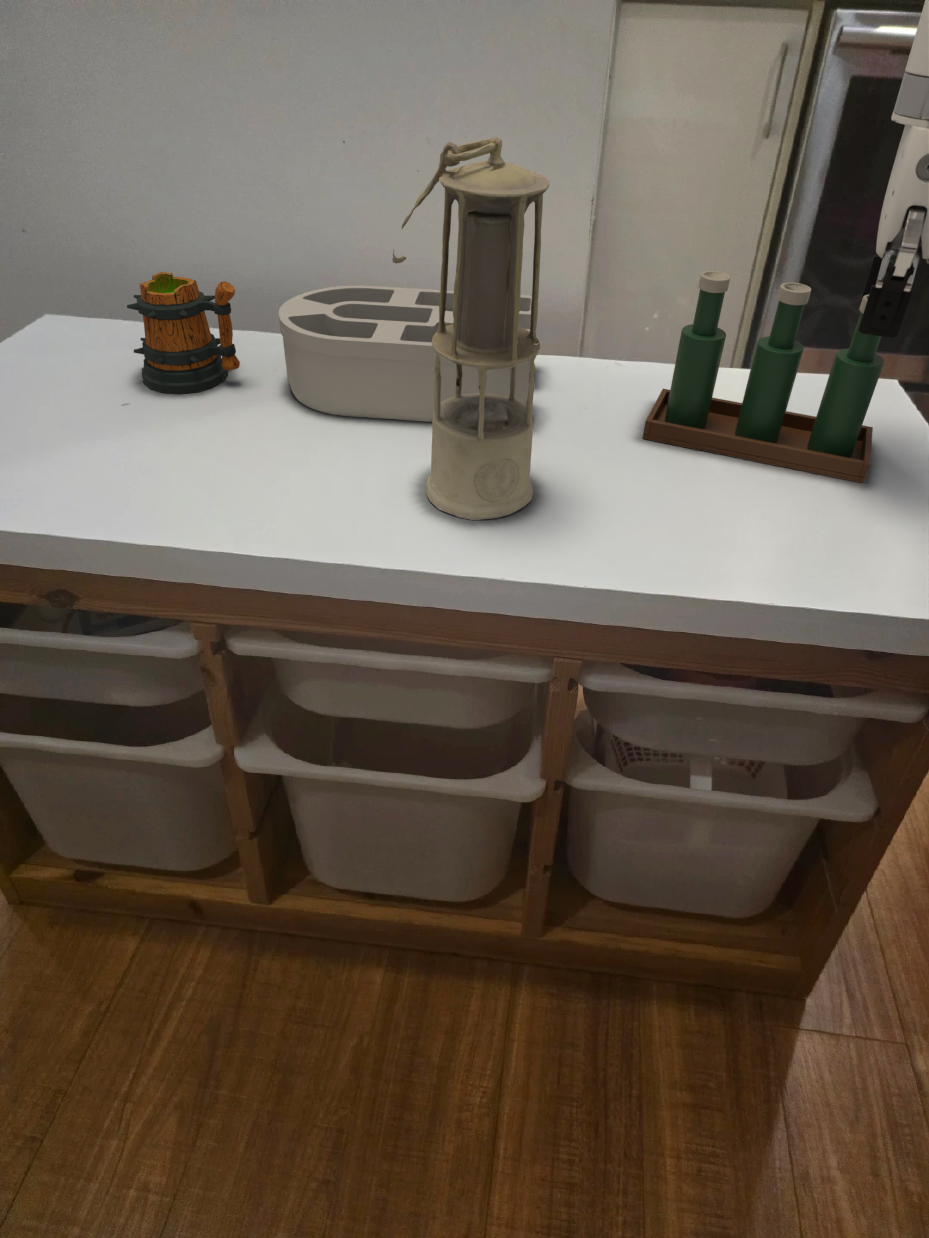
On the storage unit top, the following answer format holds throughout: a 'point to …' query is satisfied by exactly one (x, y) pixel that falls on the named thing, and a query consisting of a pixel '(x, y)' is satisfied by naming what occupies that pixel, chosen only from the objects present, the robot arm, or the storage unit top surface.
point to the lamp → (484, 334)
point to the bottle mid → (774, 369)
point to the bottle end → (699, 356)
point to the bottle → (847, 394)
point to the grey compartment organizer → (379, 352)
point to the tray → (782, 453)
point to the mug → (184, 335)
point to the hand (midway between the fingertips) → (878, 317)
